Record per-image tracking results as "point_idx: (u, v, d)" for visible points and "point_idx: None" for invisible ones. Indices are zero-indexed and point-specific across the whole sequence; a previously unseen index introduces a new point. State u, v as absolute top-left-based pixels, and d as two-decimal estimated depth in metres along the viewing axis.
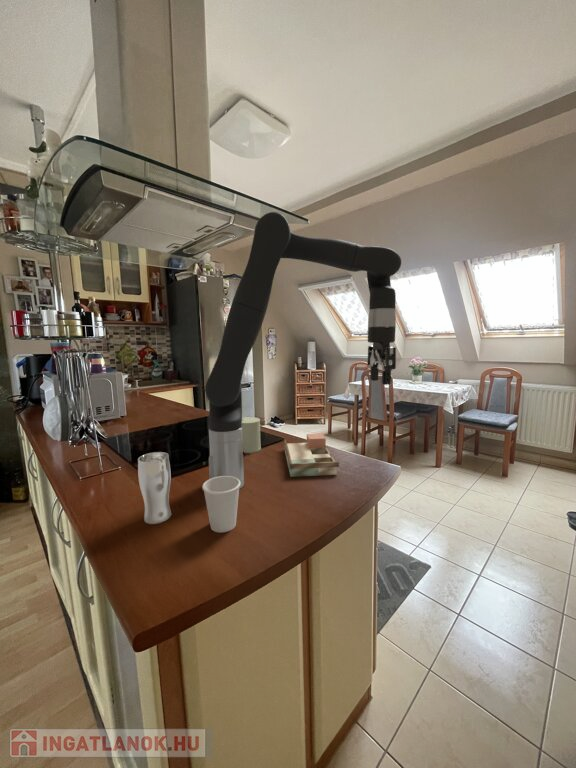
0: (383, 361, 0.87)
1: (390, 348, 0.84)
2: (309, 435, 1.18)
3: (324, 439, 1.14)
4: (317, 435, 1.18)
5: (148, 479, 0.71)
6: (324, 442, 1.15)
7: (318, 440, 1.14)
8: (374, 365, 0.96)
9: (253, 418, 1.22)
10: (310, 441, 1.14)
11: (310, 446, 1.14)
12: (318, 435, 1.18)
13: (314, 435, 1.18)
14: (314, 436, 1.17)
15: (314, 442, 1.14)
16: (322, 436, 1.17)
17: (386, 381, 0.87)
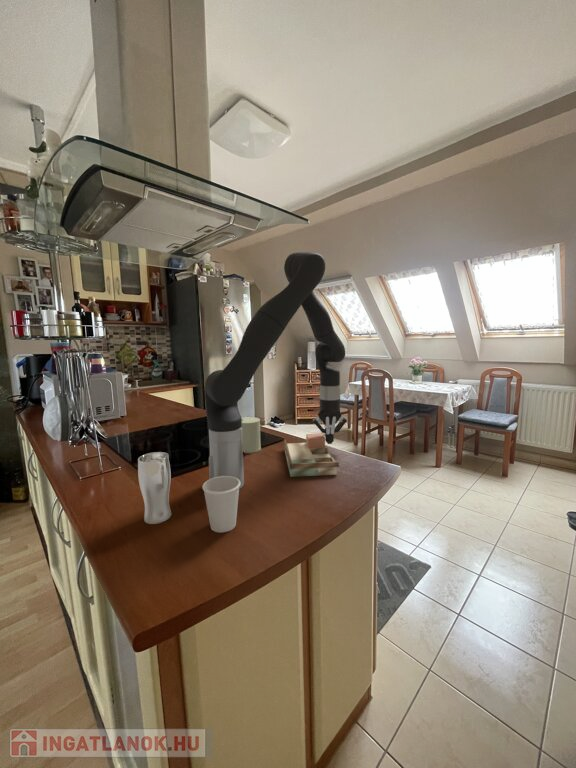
0: None
1: None
2: (308, 435, 1.18)
3: (323, 439, 1.14)
4: (317, 435, 1.18)
5: (148, 479, 0.71)
6: (323, 442, 1.15)
7: (317, 440, 1.14)
8: None
9: (253, 418, 1.22)
10: (309, 441, 1.14)
11: (309, 446, 1.14)
12: (318, 435, 1.18)
13: (313, 435, 1.18)
14: (314, 436, 1.17)
15: (313, 442, 1.14)
16: (321, 436, 1.17)
17: None
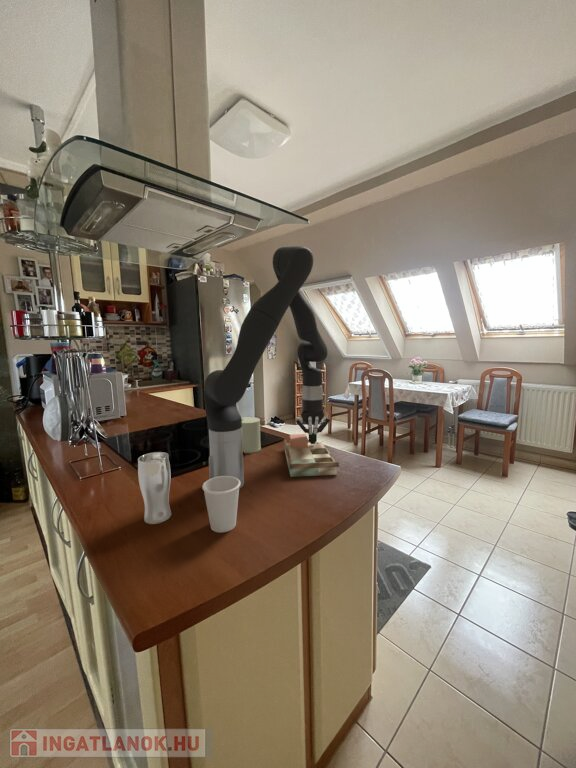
0: None
1: None
2: (292, 435, 1.18)
3: (306, 439, 1.14)
4: (300, 435, 1.18)
5: (148, 479, 0.71)
6: (306, 442, 1.14)
7: (300, 440, 1.14)
8: None
9: (253, 418, 1.22)
10: (292, 441, 1.14)
11: (292, 446, 1.14)
12: (301, 435, 1.18)
13: (297, 435, 1.18)
14: (297, 436, 1.17)
15: (296, 442, 1.14)
16: (305, 436, 1.17)
17: None
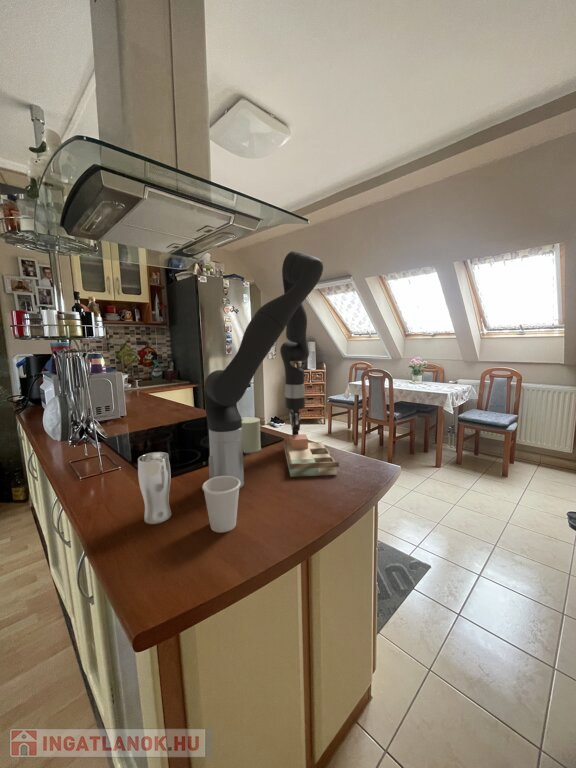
0: None
1: None
2: (292, 436, 1.18)
3: (306, 440, 1.14)
4: (300, 435, 1.18)
5: (148, 479, 0.71)
6: (306, 443, 1.14)
7: (300, 441, 1.14)
8: None
9: (253, 418, 1.22)
10: (292, 442, 1.14)
11: (292, 447, 1.14)
12: (301, 436, 1.17)
13: (297, 436, 1.18)
14: (297, 436, 1.17)
15: (296, 443, 1.14)
16: (305, 437, 1.16)
17: None
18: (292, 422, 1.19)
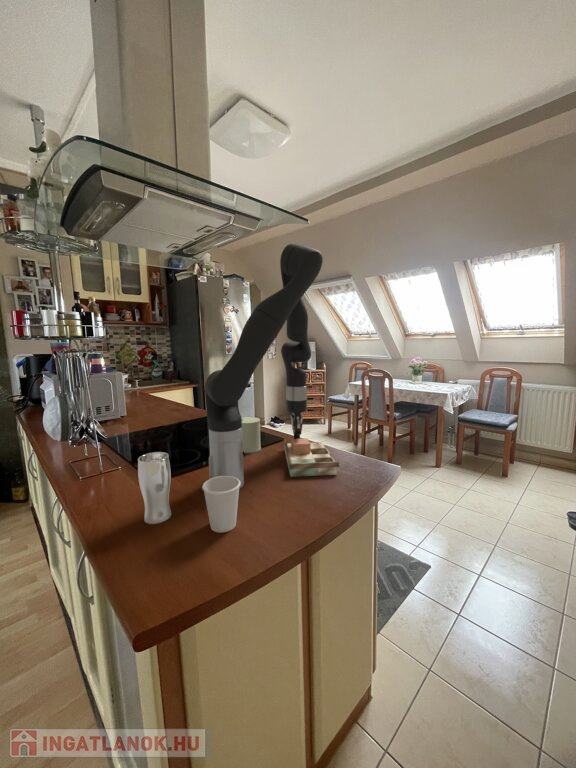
0: None
1: None
2: (293, 440, 1.13)
3: (309, 444, 1.09)
4: (302, 440, 1.13)
5: (148, 479, 0.71)
6: (309, 447, 1.09)
7: (303, 445, 1.09)
8: None
9: (253, 418, 1.22)
10: (294, 446, 1.09)
11: (294, 452, 1.09)
12: (303, 440, 1.12)
13: (299, 440, 1.13)
14: (299, 441, 1.12)
15: (298, 447, 1.09)
16: (307, 441, 1.11)
17: None
18: (293, 426, 1.14)
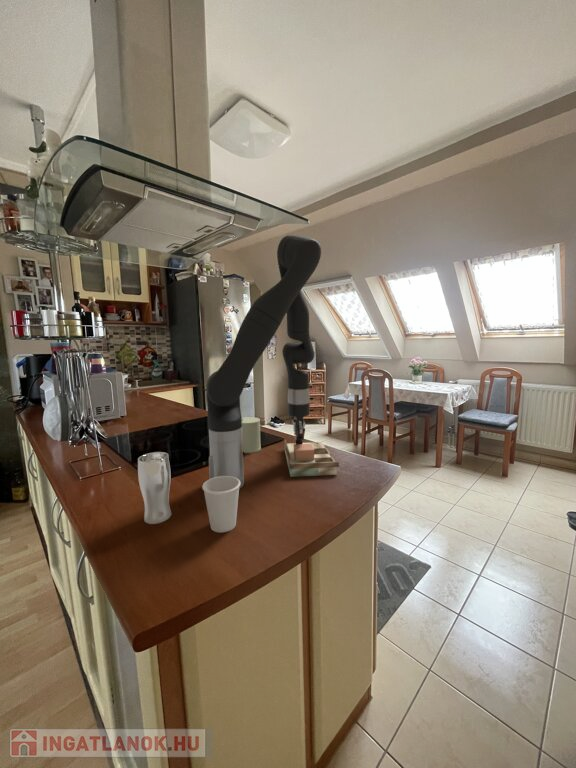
0: None
1: None
2: (296, 446, 1.07)
3: (312, 450, 1.03)
4: (305, 445, 1.07)
5: (148, 479, 0.71)
6: (312, 454, 1.03)
7: (306, 452, 1.03)
8: None
9: (253, 418, 1.22)
10: (297, 453, 1.02)
11: (297, 458, 1.03)
12: (307, 446, 1.06)
13: (302, 446, 1.07)
14: (302, 447, 1.06)
15: (301, 454, 1.03)
16: (310, 447, 1.05)
17: None
18: (295, 430, 1.08)
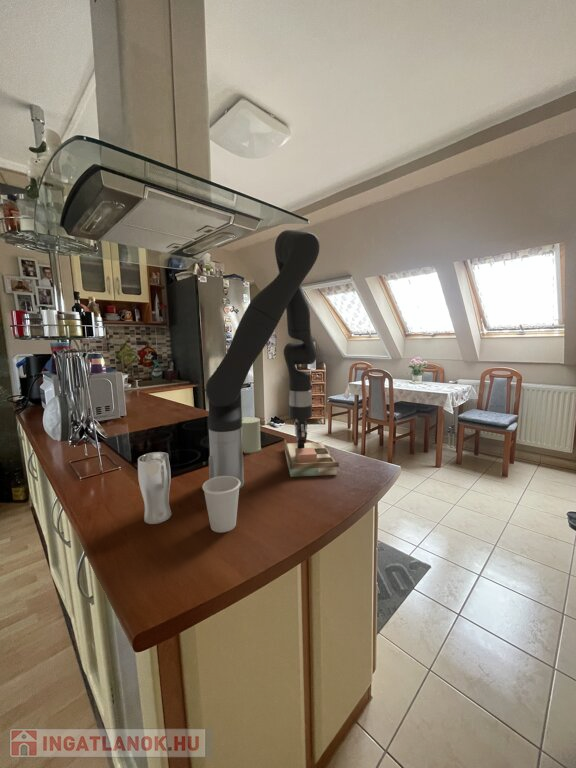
0: None
1: None
2: (298, 450, 1.03)
3: (315, 455, 0.99)
4: (307, 449, 1.03)
5: (148, 479, 0.71)
6: (315, 458, 0.99)
7: (308, 456, 0.99)
8: None
9: (253, 418, 1.22)
10: (299, 457, 0.99)
11: None
12: (309, 450, 1.02)
13: (304, 450, 1.03)
14: (304, 451, 1.02)
15: (304, 458, 0.99)
16: (313, 451, 1.01)
17: None
18: (297, 434, 1.04)
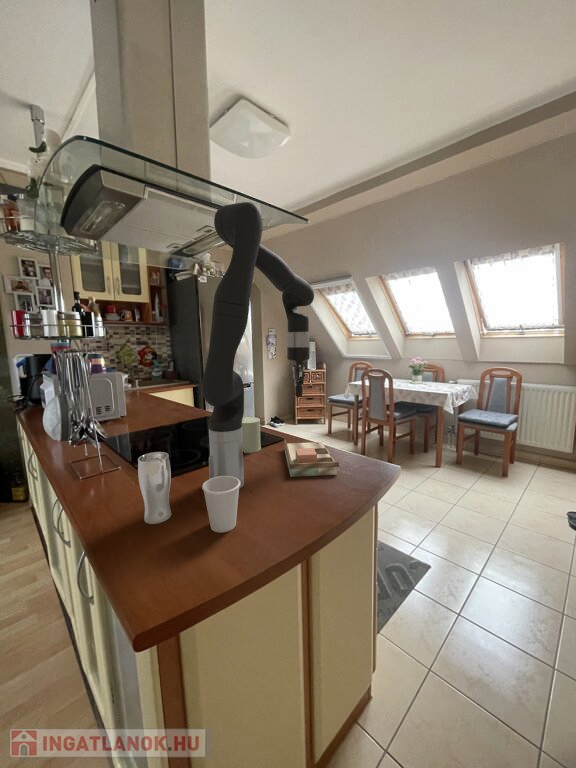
0: None
1: None
2: (298, 450, 1.02)
3: (315, 455, 0.99)
4: (308, 450, 1.03)
5: (148, 479, 0.71)
6: (315, 459, 0.99)
7: (308, 456, 0.99)
8: None
9: (253, 418, 1.22)
10: (299, 458, 0.98)
11: None
12: (309, 450, 1.02)
13: (304, 450, 1.02)
14: (304, 451, 1.01)
15: (304, 459, 0.99)
16: (313, 451, 1.01)
17: None
18: (295, 376, 1.06)
